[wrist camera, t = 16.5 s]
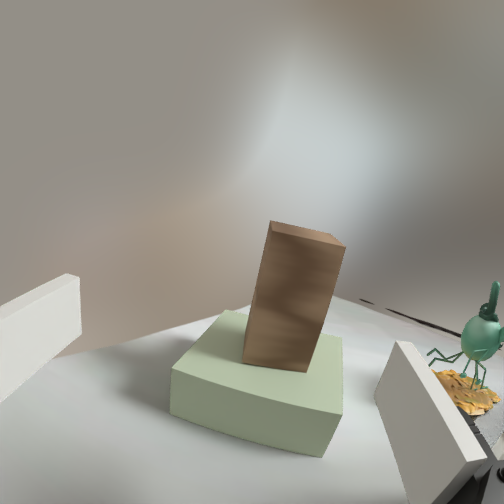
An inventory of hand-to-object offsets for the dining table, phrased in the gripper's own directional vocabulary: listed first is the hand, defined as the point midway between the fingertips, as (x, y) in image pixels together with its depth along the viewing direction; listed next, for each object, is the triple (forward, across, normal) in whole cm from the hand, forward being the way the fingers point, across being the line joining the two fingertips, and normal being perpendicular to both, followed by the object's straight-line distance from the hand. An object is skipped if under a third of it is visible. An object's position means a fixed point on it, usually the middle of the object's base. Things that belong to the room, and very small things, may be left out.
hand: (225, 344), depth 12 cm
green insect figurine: (+14, +23, -12) cm, 30 cm away
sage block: (+12, +3, -12) cm, 17 cm away
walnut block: (+12, +3, -7) cm, 14 cm away
